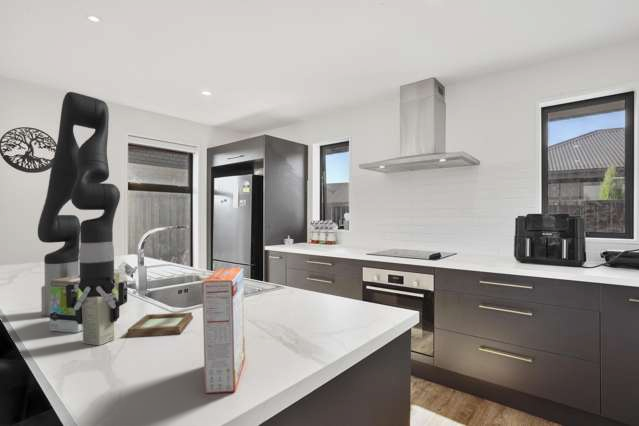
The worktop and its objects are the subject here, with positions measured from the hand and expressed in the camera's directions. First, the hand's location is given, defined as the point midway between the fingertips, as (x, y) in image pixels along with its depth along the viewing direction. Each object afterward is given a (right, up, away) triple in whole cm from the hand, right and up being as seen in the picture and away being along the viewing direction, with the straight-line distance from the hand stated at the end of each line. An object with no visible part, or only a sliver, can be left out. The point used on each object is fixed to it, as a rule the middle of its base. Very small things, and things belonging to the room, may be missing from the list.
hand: (97, 322), depth 87 cm
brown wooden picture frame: (+12, -5, +11) cm, 17 cm away
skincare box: (0, -5, 0) cm, 5 cm away
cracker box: (+39, -5, -19) cm, 44 cm away
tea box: (-13, -5, +15) cm, 20 cm away
